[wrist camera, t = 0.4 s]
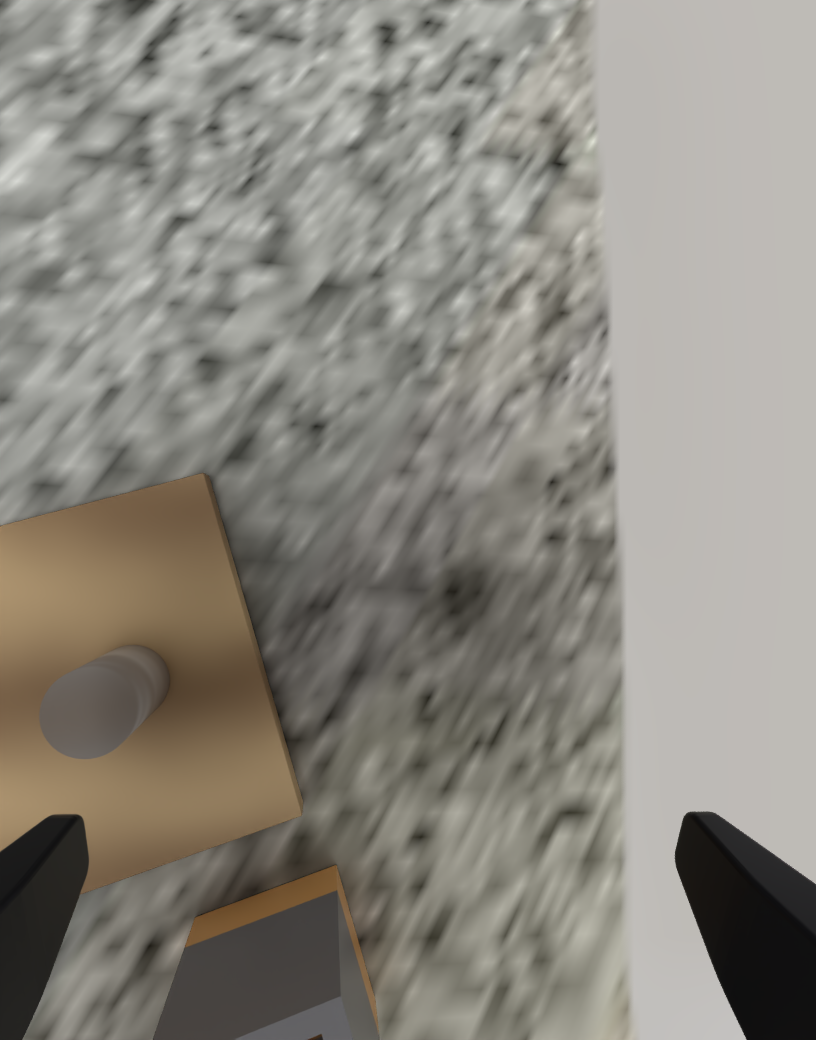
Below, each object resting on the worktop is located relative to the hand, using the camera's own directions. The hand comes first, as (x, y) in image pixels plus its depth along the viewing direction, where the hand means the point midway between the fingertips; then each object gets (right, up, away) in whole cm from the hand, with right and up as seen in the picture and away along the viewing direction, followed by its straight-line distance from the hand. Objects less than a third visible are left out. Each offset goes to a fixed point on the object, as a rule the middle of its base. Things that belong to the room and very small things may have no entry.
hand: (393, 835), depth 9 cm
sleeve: (-4, -11, +12) cm, 16 cm away
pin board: (-13, -2, +11) cm, 17 cm away
